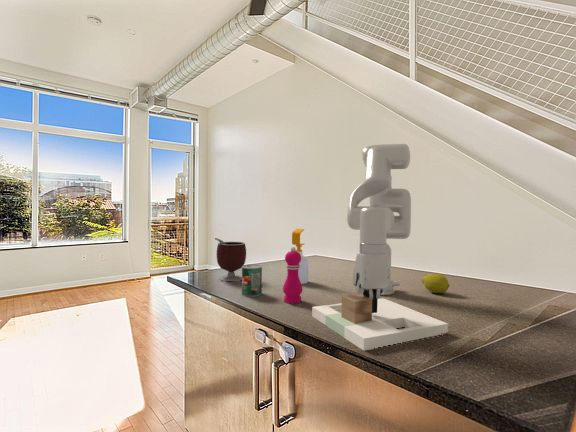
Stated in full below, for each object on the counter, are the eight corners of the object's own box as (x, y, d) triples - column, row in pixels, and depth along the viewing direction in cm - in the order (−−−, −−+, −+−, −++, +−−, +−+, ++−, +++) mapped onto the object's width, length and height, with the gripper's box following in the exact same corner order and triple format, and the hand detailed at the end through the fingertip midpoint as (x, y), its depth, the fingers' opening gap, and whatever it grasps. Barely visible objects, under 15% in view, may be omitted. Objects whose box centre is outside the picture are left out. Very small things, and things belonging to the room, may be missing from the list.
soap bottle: (311, 281, 153) (312, 228, 152) (301, 285, 145) (302, 229, 145) (295, 279, 158) (295, 228, 157) (284, 282, 150) (285, 229, 149)
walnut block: (358, 314, 98) (358, 294, 97) (371, 320, 92) (372, 299, 92) (341, 317, 95) (341, 296, 95) (354, 323, 90) (354, 301, 89)
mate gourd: (236, 274, 166) (236, 235, 166) (251, 279, 156) (252, 237, 155) (208, 278, 156) (208, 236, 156) (222, 284, 146) (222, 239, 145)
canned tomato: (265, 293, 132) (265, 265, 131) (253, 297, 125) (254, 268, 125) (249, 290, 136) (250, 263, 135) (237, 294, 129) (237, 266, 129)
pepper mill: (300, 304, 117) (301, 248, 116) (280, 303, 118) (281, 247, 117) (303, 299, 124) (304, 246, 123) (284, 297, 125) (285, 245, 125)
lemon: (453, 294, 133) (453, 274, 133) (443, 297, 129) (444, 277, 128) (428, 288, 142) (428, 270, 142) (418, 291, 137) (418, 272, 137)
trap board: (383, 306, 115) (383, 298, 115) (447, 334, 91) (448, 323, 91) (312, 316, 104) (312, 306, 104) (363, 350, 80) (363, 338, 79)
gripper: (384, 247, 103) (383, 305, 103) (343, 248, 97) (342, 310, 97) (401, 249, 96) (400, 312, 96) (359, 252, 90) (357, 318, 90)
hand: (371, 311), depth 97 cm, fingers closed
